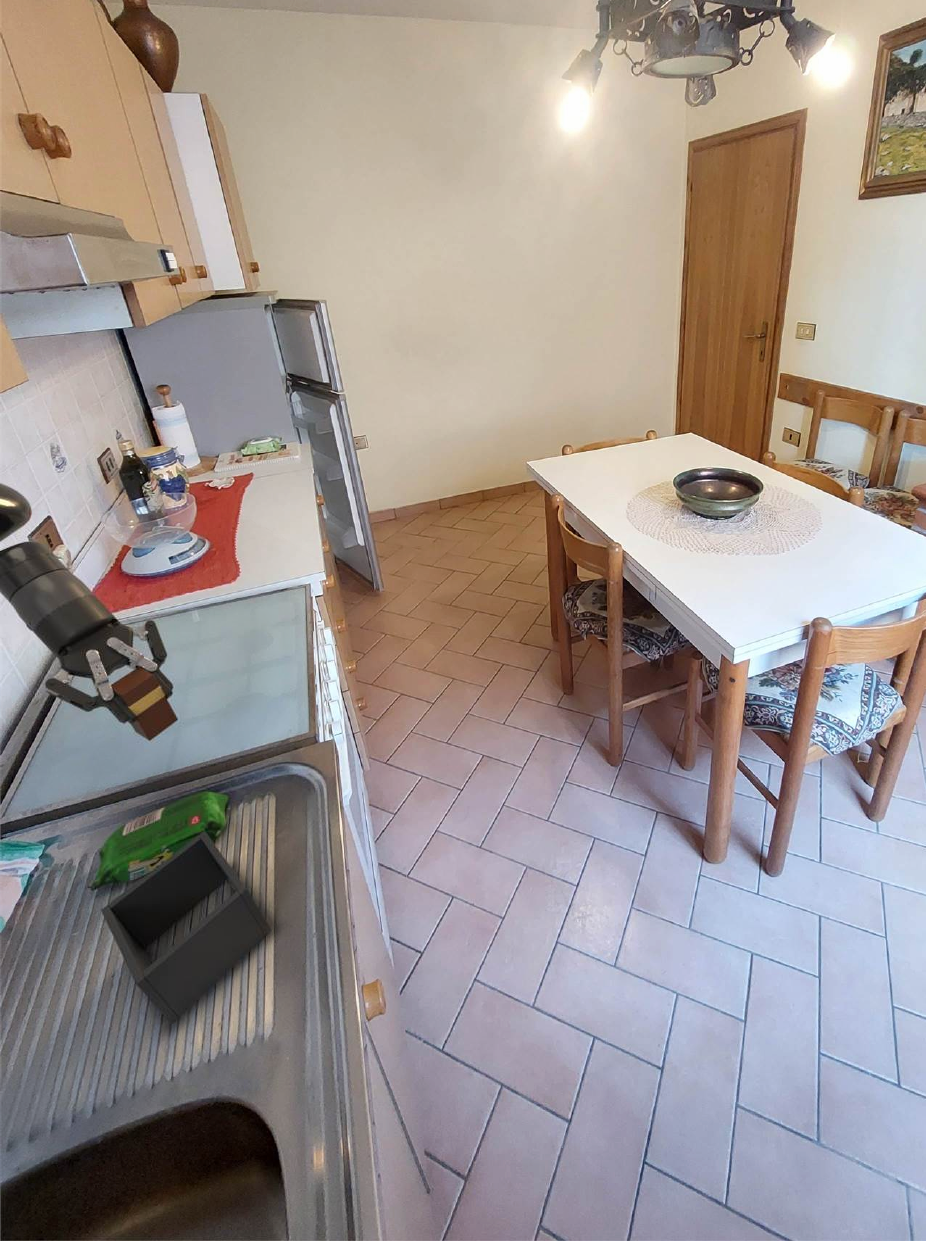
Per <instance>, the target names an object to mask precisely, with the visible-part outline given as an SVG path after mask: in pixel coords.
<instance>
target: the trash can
mask: <svg viewBox="0 0 926 1241" xmlns="http://www.w3.org/2000/svg"><path fill="white" fill-rule="evenodd" d="M226 881H227V883H228V884H229V886H230V887H231V888H232V890H233V891H234V893H232V894H231V895H230V896H229V897H228V898H227V899H225V900H224V901H223V902H222V903H221V904H220V905H219V906H217V907H216V908H215V909H214V910H213V911H211V912H210V913H209V914H208V915H207V916H205V918H203V919H201V921H200V922H199V923H198V924H196V925H195V926H194V927H193V928H192V929H191V930H189V931H188V932H187V933H185V935H184V936H182V937H181V938H180V939H179V940H178V941H177V942H176V943H174V944H173V945H172V946H171V947H169V949H167V950H166V951H165V952H164V953H162V954H161V955H160V956H159V957H158V958H157V959H156V960H154V961H153V962H151V959H150V958H149V956H148V954H147V952H146V950H145V949H146V948H148V947H149V946H150V945H151V944H152V943H153V942H155V941H156V940H158V939H159V937H161V936H162V935H163V934H164V933H166V932H167V931H168V930H169V929H171V927H173V926H174V925H175V924H176V923H177V922H179V921H180V920H181V919H182V918H184V917H185V915H188V913H190V912H191V911H192V910H193V909H194V908H195V907H196V906H198V905H199V904H200V903H201V902H202V901H204V900H205V899H206V898H208V896H210V895H211V894H212V893H213V892H214V891H216V890H217V889H218V888H219V887H221V885H223V884H224V883H225V882H226ZM100 912H101V913H102V915H103V916H102V917H103V918H104V920H105V922H106V924H107V925H108V929H109V931H110V932H111V935H112V937H113V939H114V941H115V943H116V945H117V947H118V949H119V951H120V954H121V955H122V957H123V959H124V961H125V964H126V966H127V968H128V970H129V972H130V974H131V976H132V978H133V981H134V982H135V985H136V986H137V987H138V988H139V989H140V990H141V991H142V993H143V994H144V995H145V996H146V997H147V998H148V999H149V1000H150V1001H151V1003H152V1004H153V1005H154V1006H155V1007H156V1008H157V1009H158V1010H159V1012H161V1014H162V1015H163V1016H164V1017H165V1018H166V1020H168V1021H169V1023H170V1024H171V1025H173V1024H174V1023H176V1022H177V1021H178V1020H179V1018H181V1017H182V1016H183V1015H185V1013H187V1011H188V1010H190V1009H191V1008H192V1007H193V1006H194V1005H195V1004H196V1003H197V1002H198V1001H199V1000H200V999H201V998H202V997H203V996H204V995H206V993H207V992H208V991H209V990H211V989H212V988H213V987H214V986H215V985H216V984H217V983H218V982H219V981H220V980H221V979H223V977H224V976H226V974H227V973H229V972H230V971H231V970H232V969H233V968H234V967H235V966H236V965H237V964H238V963H240V961H242V959H243V958H245V957H246V955H248V954H249V953H250V952H251V951H252V950H253V949H254V948H255V947H256V946H257V945H259V943H261V942H262V941H263V940H264V938H266V937H267V936H268V935H270V933H271V932H272V928H271V926H270V924H269V923H268V922H267V920H266V918H265V916H264V915H263V913H262V912H261V910H260V908H259V906H258V905H257V903H256V901H255V900H254V898H253V897H252V895H251V893H250V892H249V890H248V888H247V887H246V885H245V884H244V883H243V881H242V880H241V879H240V877H239V876H238V875H237V873H236V872H235V870H234V869H233V868H232V867H231V865H230V863H229V862H228V860H226V858H225V857H224V855H223V854H222V852H221V851H220V850H219V848H218V846H216V845H215V843H214V841H212V840H211V839H210V838H209V836H208V835H207V834H206V832H205V831H203V832H202V833H201V834H199V836H197V837H196V838H194V839H193V840H192V841H190V842H189V843H188V844H186V845H185V846H184V847H183V848H181V849H180V850H179V851H177V852H176V853H175V854H173V855H172V856H171V857H169V858H168V859H167V860H165V861H164V862H163V863H162V864H160V865H159V866H158V867H156V868H155V869H154V870H152V871H151V872H150V873H148V874H145V875H144V876H142V878H140V879H139V880H138V881H136V882H135V883H134V884H133V885H131V886H130V887H129V888H127V889H126V890H124V891H123V892H122V893H121V894H120V895H118V896H117V897H115V898H114V899H113V900H112V901H110V902H109V903H107V905H105V906H104V907H103V908H101V909H100Z"/></svg>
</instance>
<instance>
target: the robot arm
mask: <svg viewBox="0 0 926 1241" xmlns="http://www.w3.org/2000/svg"><path fill="white" fill-rule="evenodd" d="M32 514H33V511H32V507H31V503H30V502H29V500H28V499H27V498H26V497H25V496H24V495H23V494H22V493H20V491H18V490H17V489H15V488H12V487H11V486H9V485H6V484H3V483H1V482H0V543H1V542H2V541H4V540H5V539H7V538H8V537H10V536H11V535H13V534H14V533H16V532H17V531H19V530H20V529H22V528H23V527H24V526H26V525H27V524H28V522H30V520H31V519H32ZM0 594H1V595H2V597H4V599H5V600H7V601H8V603H9V604H10V605H11V606H12V608H13V609H14V610H15V612H16V614H17V615H18V617H19V618H20V619H21V620H22V621H23V623H24V624H25V625H26V628H27V629H28V630H29V631H31V632H33V634H34V635H35V636H36V637H37V638H38V639H39V640H40V641H41V643H43V644H44V645H45V646H46V648H47V649H48V650H49V651H50V652H51V653H52V654H53V655H54V656H55V658H56V659H57V660H58V661H59V663H60V670H59V671H58V672H57V673H56V674H55V675H54V676H53V677H50V678H48V679H47V680H45V684H44V687H45V692H46V693H47V694H49V695H50V696H53V697H55V698H57V699H59V700H62V701H64V702H65V703H68V704H70V705H72V706H73V707H75V708H78V709H80V710H82V711H84V712H85V713H86V712H87V713H88V712H92V711H94V710H95V709H100V708H106V709H107V710H108V711H109V712H110V714H112V715H113V717H115V719H116V720H117V721H118V722H119V723H121V724H124V725H125V724H126V723H127V722H128V724H130V725H131V724H132V723H134V722H135V721H137V716H136V714H135V713H134V712H133V711H132V710H131V709H129V708H128V706H127V705H126V704H125V703H124V701H123V700H122V699H121V698H120V697H119V696H117V697H116V696H115V695H114V693H113V690H112V688H111V686H110V685H111V683H110V680H109V677H110V675H112V674H113V673H114V672H115V671H117V670H119V669H122V668H124V667H125V666H126V667H128V668H129V669H130V670H131V669H132V671H133V670H135V669H136V668H138V667H140V668H142V669H144V670H146V671H148V672H150V673H151V674H153V675H154V676H155V678H156V680H157V682H158V684H159V686H161V689H162V690H163V692H164V694H165V697H166V698H167V700H168V699H169V698H171V697H172V696H173V694H174V692H173V689H174V685H173V682H172V681H170V679H169V678H168V677H167V676H166V675H165V674H164V673H163V672H162V670H161V669H160V668H161V667H162V666H163V665H164V664H165V663H166V660H167V657H168V653H167V650H166V646H165V643H164V642H163V639H162V637H161V634H160V632H159V629H158V627H157V624H156V622H155V620H151V619H150V620H147V621H145V624H142V625H138V626H135V627H134V626H133V627H130V626H129V625H125V624H123V623H121V621H119V619H117V617H116V616H115V615H114V614H113V613H112V612H111V610H109V609H108V607H106V605H104V603H103V602H102V601H101V600H100V599H99V598H98V597H97V595H95V594H94V592H93V591H92V590H91V589H90V588H89V587H88V586H87V585H86V584H85V583H84V582H83V581H82V580H81V578H79V577H77V576H76V575H75V574H74V573H72V572H71V571H70V570H69V569H68V567H67V566H66V565H65V564H64V563H63V562H62V561H61V560H60V559H59V558H58V557H57V556H56V554H55V553H54V552H53V551H52V550H51V549H50V548H49V547H48V546H46V545H45V544H44V543H42V542H40V541H35V540H29V541H22V542H19V543H16V544H13V545H10V546H8V547H5V548H2V549H1V550H0ZM134 637H137V638H139V640H141V641H142V642H146V643H147V645H148V648H149V650H150V653H151V657H152V660H151V659H149V658H147V657H145V655H143V654H142V653H141V652H140V651H138V650H136V649H134V646H133V645H134ZM69 676H73V677H79V678H85V679H89V680H91V683H92V685H93V687H94V690H95V691H96V693H97V695H94V696H92V695H90V694H87V693H86V692H83V691H82V690H79V689H77V688H75V687H74V686H72V680H71V679H70V678H69Z"/></svg>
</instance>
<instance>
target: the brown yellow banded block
mask: <svg viewBox="0 0 926 1241" xmlns="http://www.w3.org/2000/svg"><path fill="white" fill-rule="evenodd" d="M110 686H111V688H112V690H113V693H114V695H115V696H116V697H117V696H119V697H120V698H121V699H122V700H123V701H124V703H125V704H126V705H127V706H128V708H129V709H131V710H132V711H133V712H134V713H135V714H136V716H137V721H135V722H134V723H132V724H130V725H131V727H132V729H133V730H134V732H135V733H136V734H138V735H140V736H141V737H143V738H145V739H146V740H147V741H149V742H150V741H152V740H153V739H155V738H156V737H158V735H160V734H162V733H163V732H164V731H165V730H167V729H168V728H169V727H170V726H172V725H173V724H175V723H176V722H178V720H179V719H178V717H177V715H176V713H175V710H174V709H173V707H172V705H171V703H170V702H169V700H168V699H167V698H166V697H165V694H164V692H163V690H162V689H161V686H159V684H158V682H157V680H156V678H155V676H154V675H153V674H151V673H150V672H148V671H146V670H144V669H142V668H140V667H138V668H136V669H135V670H133V669H132V670H131V671H130V672H128V673H127V674H125V675H124V676H122V677H120V679H118V680H116V681H114V682H113V683H111V684H110Z"/></svg>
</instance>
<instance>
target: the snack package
mask: <svg viewBox="0 0 926 1241" xmlns="http://www.w3.org/2000/svg"><path fill="white" fill-rule="evenodd" d="M228 801H229V795H228V794H223V793H218V792H213V791H202V792H201V791H200V792H197V793H195V794H192V795H189V796H186V797H184V798H181V799H180V800H176V801H175V802H173V803H171V804H169V805H165V806H163V807H160V808H158V809H156V810H153V811H151V812H149V813H147V814H144V815H142V816H139V817H137V818H135V819H133V820H131V821H129V822H126V823H124V824H123V825H122V826H120V827H119V828H116V830H115V831H113V832H112V833H111V835H110V836H109V837H108V838H107V839H106V841H105V842H104V843H103V845H102V846H101V848H100V850H99V853H98V854H99V859H100V861H99V867H98V869H97V872H96V875H95V877H94V879H93V882H92V884H91V885H90V886H86V888H88V889H90V890H91V891H92V892H94V891H96V890H98V889H99V888H101V887H103V886H105V885H108V884H117V883H128V882H132V881H134V880H136V879H138V878H141V877H144V876H146V875H147V874H148V873H150V872H151V871H152V870H154V869H155V868H156V867H158V866H159V865H160V864H162V863H163V862H164V861H165V860H167V859H168V858H169V857H171V856H172V855H173V854H175V853H176V852H177V851H179V850H180V849H181V848H183V847H184V846H185V845H186V844H188V843H189V842H190V841H192V840H193V839H194V838H196V837H197V836H199V834H201V833H202V832H203V831H205V832H206V834H207V835H208V836H209V838H210V839H211V840H212V842H214V841H216V839H217V837H219V835H220V834H221V833H222V832H223V830H224V829H225V827H226V825H227V820H226V819H227V818H226V813H225V810H226V805H227V804H228Z"/></svg>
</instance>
